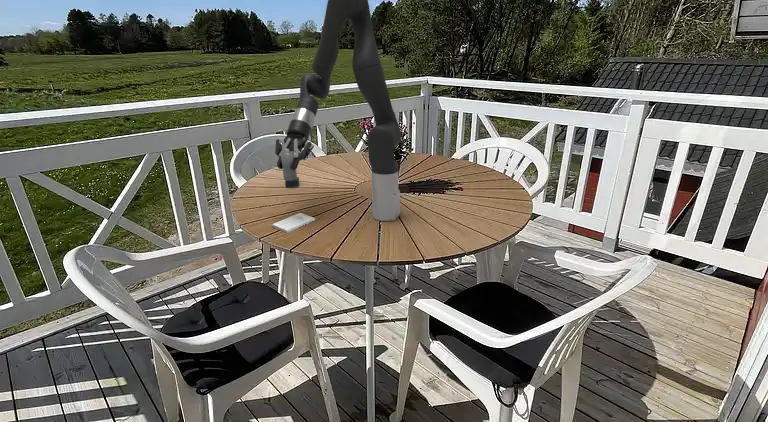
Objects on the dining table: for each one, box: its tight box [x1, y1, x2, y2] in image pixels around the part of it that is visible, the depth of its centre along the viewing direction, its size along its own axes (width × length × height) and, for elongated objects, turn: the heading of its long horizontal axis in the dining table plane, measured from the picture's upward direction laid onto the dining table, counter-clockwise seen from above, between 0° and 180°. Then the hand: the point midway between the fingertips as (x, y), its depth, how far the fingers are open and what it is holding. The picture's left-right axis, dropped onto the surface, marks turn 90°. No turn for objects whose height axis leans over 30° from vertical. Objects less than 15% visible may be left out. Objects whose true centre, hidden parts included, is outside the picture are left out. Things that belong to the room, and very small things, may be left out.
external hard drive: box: [271, 212, 316, 234], centre depth 137 cm, size 2×8×12 cm
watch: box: [284, 176, 300, 189], centre depth 171 cm, size 6×8×11 cm
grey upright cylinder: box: [281, 149, 298, 181], centre depth 131 cm, size 4×4×10 cm
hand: (286, 168), depth 130 cm, fingers closed on grey upright cylinder, 4 cm apart
